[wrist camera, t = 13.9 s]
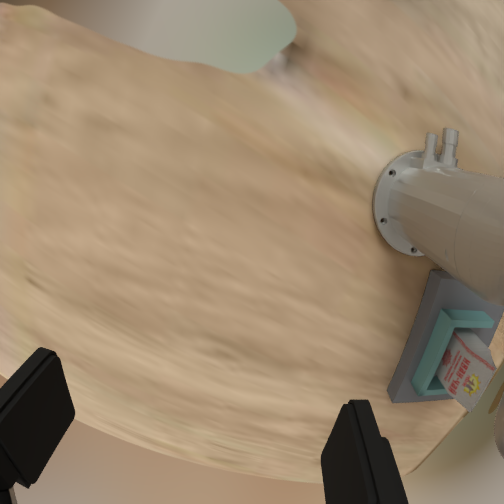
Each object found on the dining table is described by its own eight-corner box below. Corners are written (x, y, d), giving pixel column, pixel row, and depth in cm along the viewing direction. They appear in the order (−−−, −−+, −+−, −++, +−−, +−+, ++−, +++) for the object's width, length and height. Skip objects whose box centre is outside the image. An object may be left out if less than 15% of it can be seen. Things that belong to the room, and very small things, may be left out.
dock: (431, 269, 37) (452, 288, 31) (501, 278, 37) (524, 295, 31) (386, 390, 43) (397, 416, 37) (455, 386, 43) (469, 408, 37)
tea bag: (468, 327, 36) (505, 367, 26) (450, 366, 38) (480, 410, 28) (449, 326, 36) (485, 369, 26) (431, 367, 38) (460, 413, 28)
